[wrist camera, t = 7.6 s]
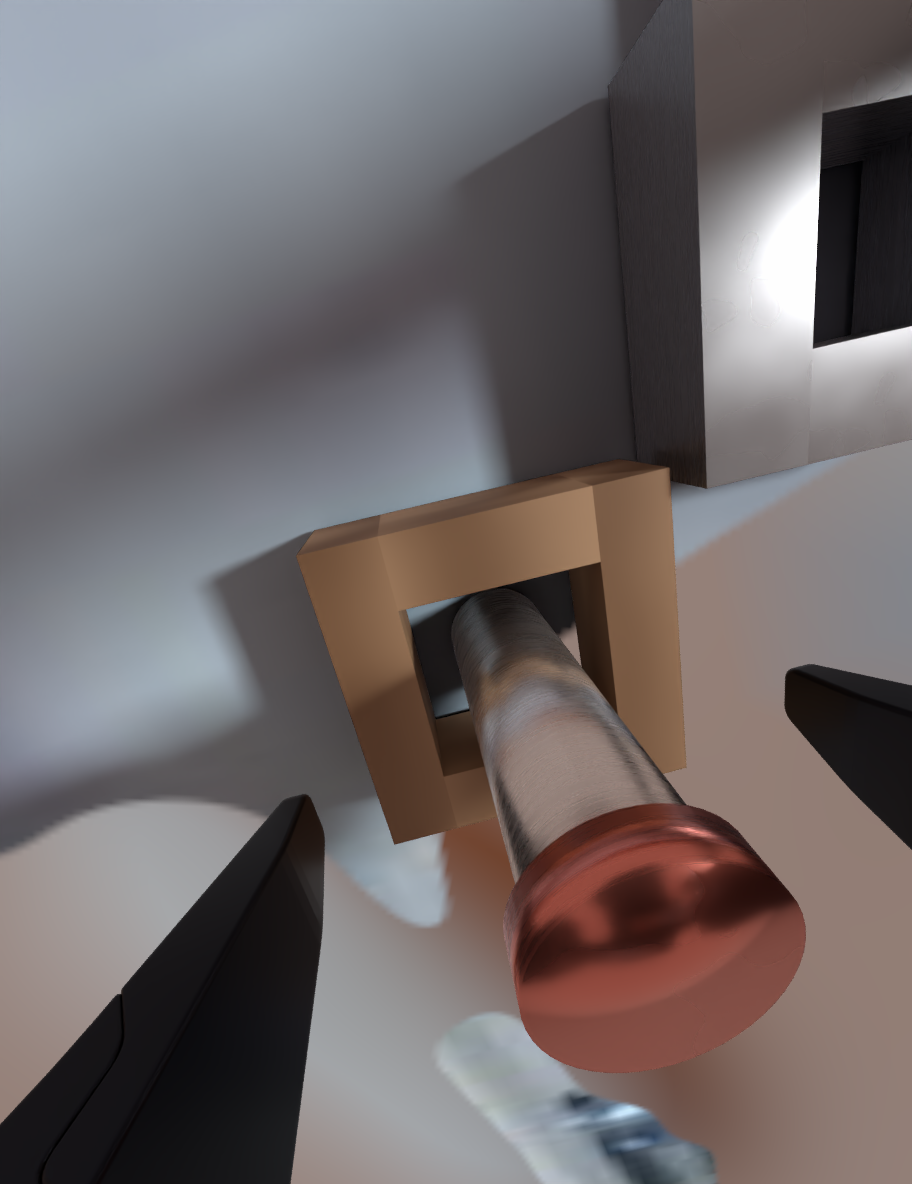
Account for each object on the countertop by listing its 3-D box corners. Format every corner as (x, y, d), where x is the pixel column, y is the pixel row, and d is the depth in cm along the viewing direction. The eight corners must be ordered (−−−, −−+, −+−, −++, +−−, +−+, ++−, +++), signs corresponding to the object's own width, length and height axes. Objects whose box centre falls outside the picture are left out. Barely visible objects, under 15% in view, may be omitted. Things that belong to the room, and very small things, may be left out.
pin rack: (618, 459, 13) (669, 467, 10) (641, 714, 15) (686, 767, 13) (314, 530, 12) (296, 555, 10) (394, 778, 15) (394, 844, 13)
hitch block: (1010, -359, 9) (1308, -734, 6) (921, 406, 13) (1065, 402, 10) (578, -287, 8) (672, -646, 6) (638, 473, 13) (706, 488, 10)
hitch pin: (542, 566, 13) (811, 828, 5) (558, 666, 14) (801, 1028, 6) (429, 593, 13) (493, 913, 5) (453, 693, 14) (543, 1102, 6)
